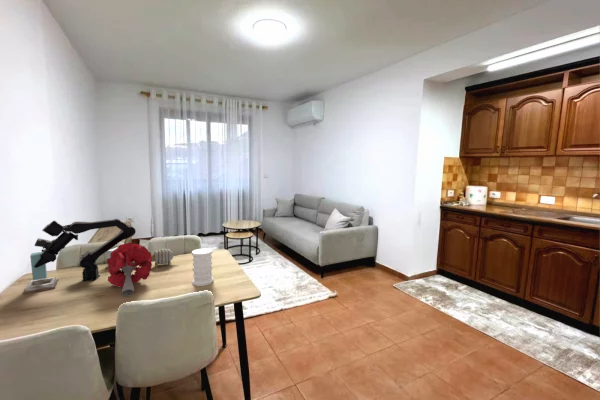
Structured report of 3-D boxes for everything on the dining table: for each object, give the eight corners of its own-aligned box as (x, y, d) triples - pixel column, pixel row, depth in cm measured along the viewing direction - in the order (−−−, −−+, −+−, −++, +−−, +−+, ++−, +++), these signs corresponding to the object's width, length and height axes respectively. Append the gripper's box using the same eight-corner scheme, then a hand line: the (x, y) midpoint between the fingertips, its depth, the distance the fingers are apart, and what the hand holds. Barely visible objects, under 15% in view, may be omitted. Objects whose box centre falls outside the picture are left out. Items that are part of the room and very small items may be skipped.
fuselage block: (46, 274, 149) (44, 251, 147) (46, 278, 145) (43, 254, 143) (34, 277, 145) (31, 253, 144) (33, 280, 142) (30, 256, 140)
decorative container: (218, 280, 160) (217, 249, 158) (203, 287, 150) (202, 255, 148) (202, 276, 165) (202, 247, 163) (187, 283, 155) (186, 252, 153)
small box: (114, 267, 177) (113, 251, 176) (107, 266, 178) (106, 250, 177) (124, 263, 185) (123, 247, 184) (117, 262, 186) (116, 247, 185)
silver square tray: (58, 280, 156) (58, 276, 155) (54, 288, 146) (54, 283, 146) (29, 285, 149) (28, 280, 149) (23, 293, 139) (22, 288, 139)
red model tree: (155, 300, 149) (153, 258, 170) (150, 271, 135) (148, 230, 156) (107, 311, 140) (111, 266, 160) (96, 282, 126) (102, 236, 147)
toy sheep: (148, 265, 182) (147, 248, 181) (175, 260, 192) (175, 244, 191) (151, 270, 174) (150, 252, 172) (179, 264, 184) (179, 248, 182)
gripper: (47, 229, 152) (20, 252, 146) (45, 236, 138) (15, 262, 132) (67, 241, 158) (42, 264, 152) (67, 249, 144) (40, 274, 138)
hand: (35, 265), depth 143 cm, fingers closed on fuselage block, 5 cm apart
